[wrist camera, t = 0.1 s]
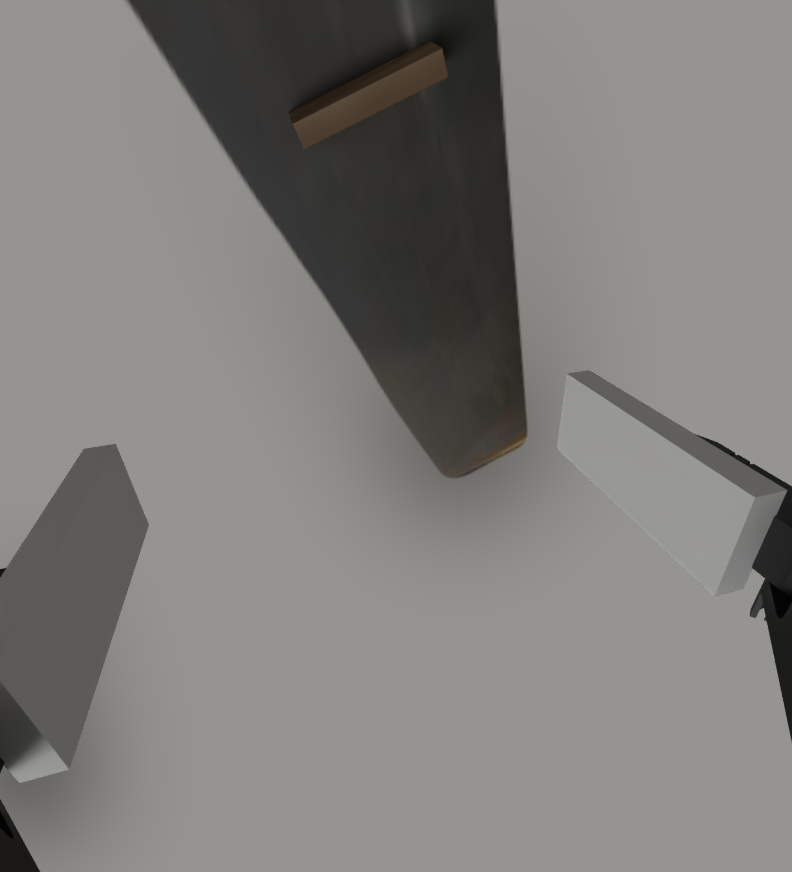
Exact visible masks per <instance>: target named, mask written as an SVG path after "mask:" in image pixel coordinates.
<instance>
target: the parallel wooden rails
mask: <svg viewBox="0 0 792 872" xmlns="http://www.w3.org/2000/svg"><path fill="white" fill-rule="evenodd" d="M447 77H448V74H447V69H446V64H445V60H444V55H443V50H442V48H441V47H439V46H438V45H436V44H435V43H433V42H432V41H428V42H426V43H424V44H422V45H420V46H418V47H417V48H415V49H413V50H411V51H409V52H407V53H405V54H403V55H401V56H399V57H397V58H395V59H393V60H391V61H389V62H387V63H385V64H383V65H381V66H379V67H377V68H375V69H373V70H371V71H369V72H367V73H366V74H364V75H362V76H360V77H358V78H356V79H354V80H352V81H350V82H348V83H346V84H344V85H342V86H340V87H338V88H336V89H334V90H332V91H330V92H328V93H326V94H324V95H322V96H320V97H318V98H316V99H315V100H313V101H311V102H309V103H307V104H305V105H303V106H301V107H299V108H297V109H295V110H293V111H291V112H289V115H290V118H291V121H292V124H293V126H294V128H295V130H296V133H297V135H298V137H299V139H300V141H301V144H302V146H303V148H304V149H305V148H307V147H309V146H311V145H313V144H315V143H317V142H319V141H321V140H323V139H325V138H327V137H329V136H331V135H333V134H335V133H337V132H339V131H341V130H343V129H345V128H347V127H349V126H351V125H353V124H355V123H357V122H359V121H361V120H363V119H365V118H367V117H369V116H371V115H373V114H375V113H377V112H379V111H381V110H383V109H385V108H387V107H389V106H391V105H393V104H395V103H397V102H399V101H401V100H403V99H405V98H407V97H409V96H411V95H413V94H415V93H417V92H419V91H421V90H423V89H425V88H427V87H429V86H431V85H433V84H435V83H437V82H439V81H441V80H443V79H445V78H447Z"/></svg>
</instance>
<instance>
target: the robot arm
mask: <svg viewBox="0 0 792 872" xmlns="http://www.w3.org/2000/svg"><path fill="white" fill-rule="evenodd" d="M557 449H558V450H559V451H560V452H561V453H562V454H563V455H564V456H565V457H566V458H567V459H568V460H570V461H571V462H572V463H573V464H574V465H575V466H576V467H577V468H578V469H579V470H580V471H581V472H582V473H583V474H585V476H587V477H588V478H589V479H590V480H591V481H592V482H593V483H594V484H595V485H596V486H597V487H598V488H599V489H600V490H601V491H603V492H604V493H605V494H606V495H607V496H608V497H609V498H610V499H611V500H612V501H613V502H614V503H615V504H616V505H617V506H619V507H620V508H621V509H622V510H623V511H624V512H625V513H626V514H627V515H628V516H629V517H630V518H631V519H632V520H633V521H635V522H636V523H637V524H638V525H639V526H640V527H641V528H642V529H643V530H644V531H645V532H646V533H647V534H648V535H649V536H651V537H652V538H653V539H654V540H655V541H656V542H657V543H658V544H659V545H660V546H661V547H662V548H663V549H665V550H666V551H667V552H668V553H669V554H670V555H671V556H672V557H673V558H674V559H675V560H676V561H677V562H678V563H680V565H681V566H683V567H684V568H685V569H686V570H687V571H688V572H689V573H690V574H691V575H692V576H693V577H694V578H695V579H696V580H697V581H699V582H700V583H701V584H702V585H703V586H704V587H705V588H706V589H707V590H708V591H709V592H710V593H711V594H713V596H718V595H722V594H726V593H729V592H733V591H737V590H741V589H743V588H744V586H745V584H746V582H747V579H748V577H749V575H750V573H751V570H752V568H753V569H754V570H756V571H757V572H758V573H759V574H761V575H762V576H763V577H764V578H765V580H764V582H763V584H762V587H761V589H760V591H759V593H758V595H757V597H756V599H755V601H754V604H753V606H752V608H751V611H750V616H751V617H754V618H756V616H757V614H758V612H759V610H760V609H762V608H764V610H765V615H766V617H765V619H764V620H765V621H767V625H768V629H769V634H770V639H771V644H772V649H773V654H774V658H775V663H776V668H777V673H778V677H779V682H780V687H781V692H782V697H783V702H784V707H785V711H786V716H787V721H788V726H789V730H790V735H791V740H792V487H791V486H790V485H789V484H787V483H785V482H783V481H782V480H780V479H778V478H777V477H775V476H773V475H772V474H770V473H768V472H767V471H765V470H763V469H761V468H760V467H758V466H756V465H755V464H750V461H748V460H746V459H745V458H743V457H741V456H739V455H735V453H734V452H732V451H731V450H729V449H728V448H726V447H724V446H723V445H721V444H719V443H718V442H715V441H712V440H710V439H707V438H704V437H701V436H698V435H696V434H694V433H692V432H690V431H688V430H686V429H685V428H684V427H682V426H680V425H679V424H677V423H675V422H674V421H672V420H670V419H669V418H667V417H665V416H664V415H662V414H660V413H659V412H657V411H655V410H654V409H652V408H651V407H649V406H647V405H645V404H644V403H642V402H640V401H639V400H637V399H636V398H634V397H632V396H631V395H629V394H627V393H626V392H624V391H622V390H621V389H619V388H617V387H616V386H614V385H612V384H611V383H609V382H607V381H606V380H604V379H602V378H601V377H599V376H598V375H596V374H594V373H593V372H591V371H589V370H588V371H582V372H575V373H569V374H567V379H566V386H565V394H564V401H563V408H562V415H561V423H560V430H559V437H558V445H557ZM148 525H149V524H148V522H147V519H146V517H145V514H144V512H143V510H142V507H141V505H140V502H139V500H138V497H137V495H136V493H135V490H134V487H133V485H132V483H131V480H130V478H129V475H128V473H127V470H126V468H125V465H124V463H123V461H122V458H121V456H120V453H119V451H118V449H117V446H116V444H112V445H106V446H100V447H93V448H87V449H84V450H83V451H82V453H81V454H80V456H79V457H78V459H77V460H76V462H75V463H74V465H73V466H72V468H71V469H70V471H69V473H68V474H67V476H66V478H65V479H64V480H63V482H62V483H61V485H60V487H59V488H58V489H57V491H56V493H55V494H54V496H53V497H52V499H51V500H50V502H49V503H48V505H47V506H46V508H45V509H44V511H43V513H42V514H41V516H40V517H39V519H38V520H37V522H36V523H35V525H34V526H33V528H32V530H31V531H30V533H29V534H28V536H27V537H26V539H25V540H24V542H23V543H22V545H21V547H20V548H19V550H18V551H17V553H16V554H15V556H14V557H13V559H12V560H11V562H10V563H9V565H8V566H7V568H4V569H0V772H1V770H2V767H3V765H4V766H5V767H6V768H7V769H8V770H9V772H10V773H11V774H12V775H13V776H14V777H15V778H16V779H17V780H18V781H19V782H20V783H21V782H25V781H28V780H32V779H36V778H40V777H43V776H47V775H51V774H55V773H58V772H62V771H66V770H69V769H70V766H71V763H72V760H73V757H74V754H75V751H76V748H77V745H78V741H79V738H80V735H81V732H82V729H83V726H84V723H85V720H86V717H87V713H88V710H89V708H90V705H91V701H92V698H93V695H94V692H95V689H96V686H97V683H98V680H99V677H100V673H101V670H102V668H103V664H104V661H105V658H106V655H107V652H108V649H109V646H110V643H111V640H112V637H113V634H114V631H115V628H116V624H117V621H118V618H119V615H120V612H121V609H122V606H123V603H124V600H125V596H126V594H127V591H128V587H129V584H130V581H131V578H132V575H133V572H134V569H135V566H136V563H137V560H138V557H139V554H140V550H141V547H142V544H143V541H144V538H145V535H146V532H147V529H148ZM0 872H40V871H39V869H38V867H37V865H36V863H35V862H34V860H33V858H32V856H31V854H30V852H29V851H28V849H27V847H26V845H25V843H24V842H23V840H22V838H21V836H20V834H19V832H18V831H17V829H16V827H15V825H14V823H13V821H12V820H11V818H10V816H9V814H8V813H7V811H6V809H5V807H4V805H3V804H2V801H1V800H0Z"/></svg>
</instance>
